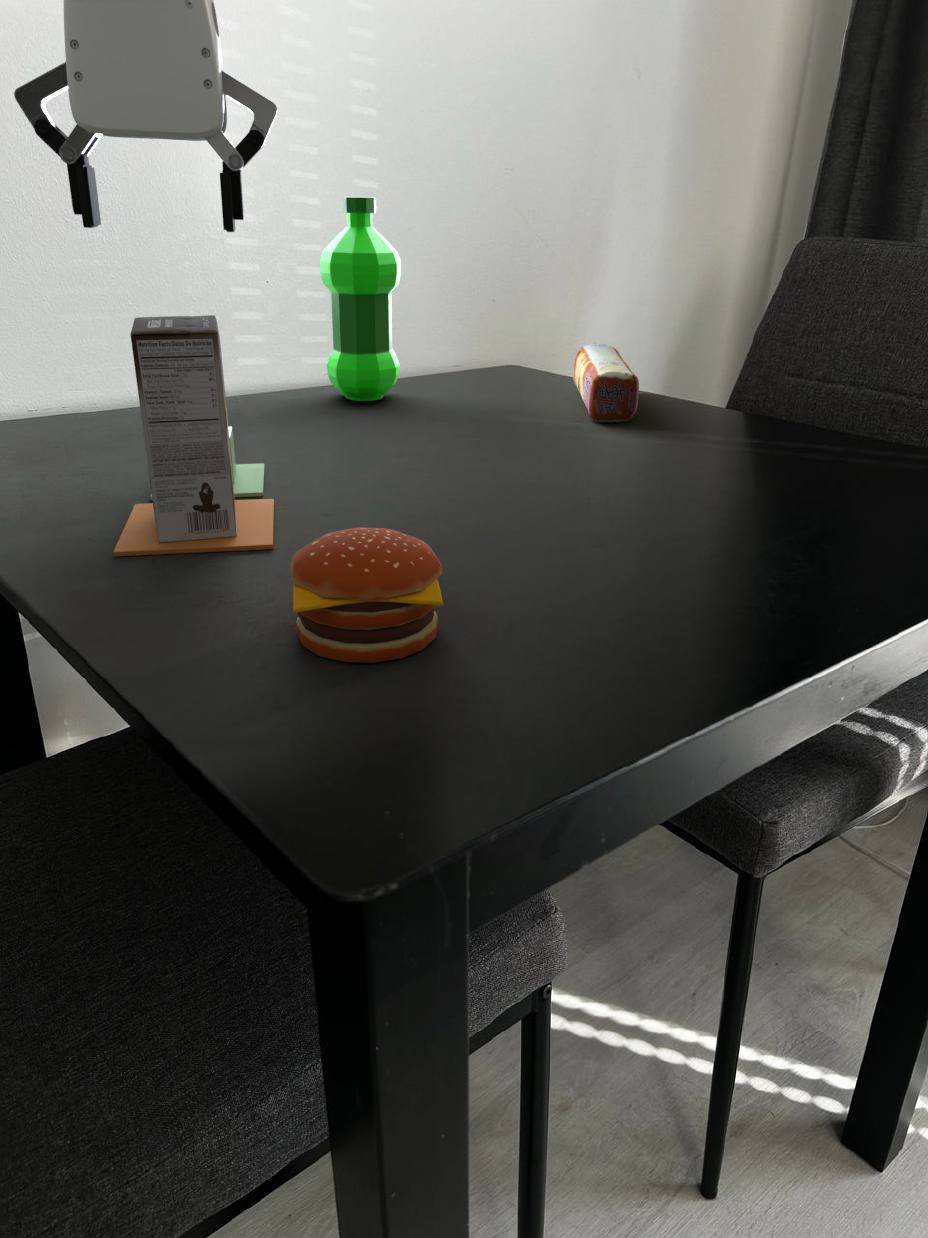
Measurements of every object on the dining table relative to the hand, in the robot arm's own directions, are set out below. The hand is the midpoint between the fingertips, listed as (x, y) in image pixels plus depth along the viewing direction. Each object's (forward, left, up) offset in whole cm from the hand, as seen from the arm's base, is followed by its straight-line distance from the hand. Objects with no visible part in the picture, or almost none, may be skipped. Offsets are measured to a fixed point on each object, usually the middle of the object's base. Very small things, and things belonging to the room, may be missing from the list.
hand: (162, 228), depth 67 cm
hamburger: (+12, -22, -23) cm, 34 cm away
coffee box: (0, 0, -23) cm, 23 cm away
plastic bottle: (+18, +52, -23) cm, 60 cm away
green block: (+1, +13, -23) cm, 26 cm away
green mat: (0, +13, -23) cm, 26 cm away
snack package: (+50, +43, -23) cm, 70 cm away
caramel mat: (0, 0, -23) cm, 23 cm away
